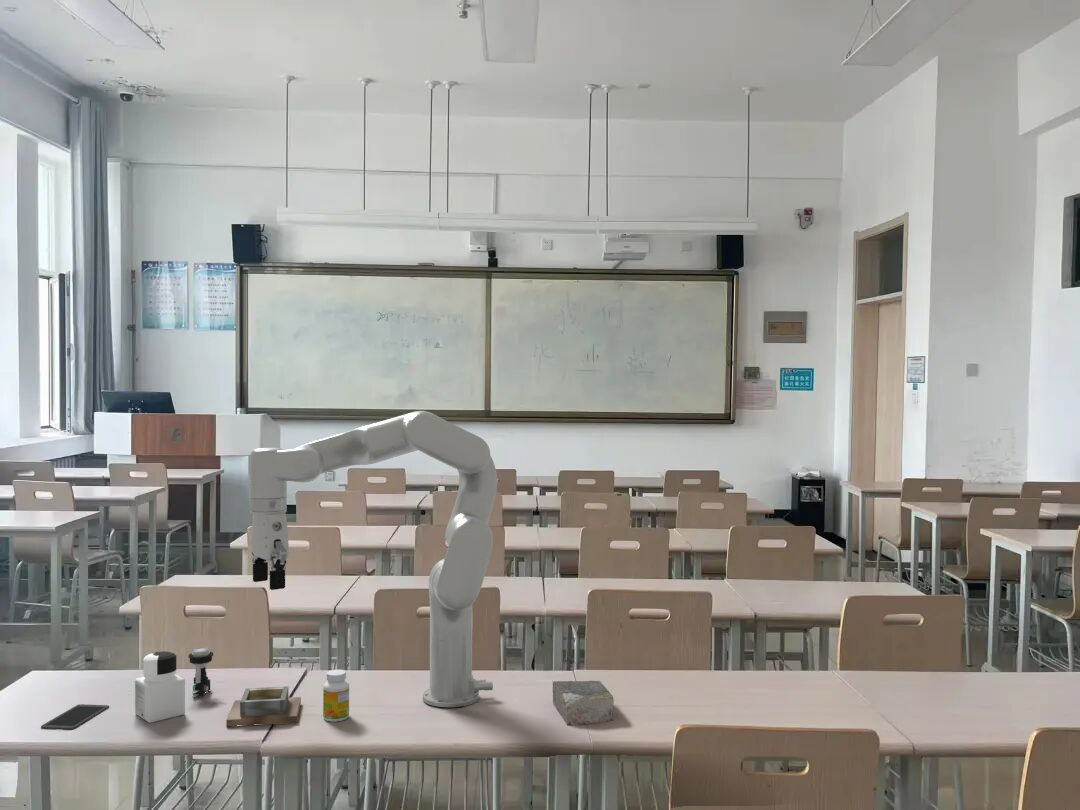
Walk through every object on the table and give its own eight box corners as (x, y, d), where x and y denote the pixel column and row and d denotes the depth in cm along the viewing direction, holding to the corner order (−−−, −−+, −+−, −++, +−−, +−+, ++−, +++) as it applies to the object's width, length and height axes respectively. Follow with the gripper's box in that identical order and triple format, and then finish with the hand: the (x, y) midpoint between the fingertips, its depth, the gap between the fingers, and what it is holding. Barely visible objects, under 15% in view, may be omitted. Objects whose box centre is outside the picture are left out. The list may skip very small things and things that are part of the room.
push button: (204, 699, 208) (204, 655, 208) (181, 699, 208) (181, 654, 208) (217, 690, 214) (217, 647, 214) (194, 689, 215) (194, 646, 215)
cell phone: (110, 708, 203) (110, 705, 203) (72, 731, 189) (72, 728, 189) (78, 707, 203) (78, 703, 203) (38, 730, 190) (38, 726, 190)
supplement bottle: (318, 717, 197) (318, 672, 197) (339, 711, 201) (339, 666, 201) (332, 724, 193) (332, 677, 193) (354, 717, 197) (354, 672, 197)
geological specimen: (598, 678, 210) (617, 696, 196) (597, 705, 210) (616, 725, 195) (552, 679, 208) (567, 697, 193) (551, 706, 208) (567, 727, 193)
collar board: (300, 703, 206) (300, 683, 205) (296, 723, 194) (296, 701, 194) (234, 707, 203) (234, 686, 203) (226, 727, 191) (226, 705, 191)
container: (170, 705, 204) (170, 646, 204) (185, 714, 198) (185, 654, 198) (134, 714, 198) (134, 653, 198) (149, 723, 193) (149, 661, 193)
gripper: (301, 508, 195) (301, 589, 195) (270, 500, 208) (270, 576, 209) (266, 511, 190) (266, 594, 190) (237, 502, 204) (237, 580, 204)
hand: (268, 585), depth 200 cm, fingers open, 9 cm apart
